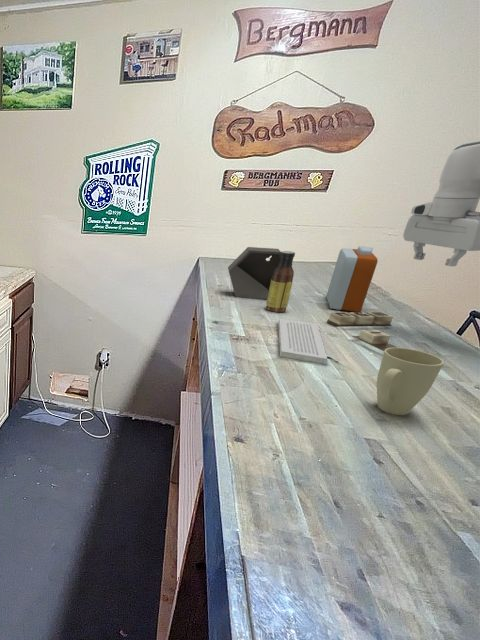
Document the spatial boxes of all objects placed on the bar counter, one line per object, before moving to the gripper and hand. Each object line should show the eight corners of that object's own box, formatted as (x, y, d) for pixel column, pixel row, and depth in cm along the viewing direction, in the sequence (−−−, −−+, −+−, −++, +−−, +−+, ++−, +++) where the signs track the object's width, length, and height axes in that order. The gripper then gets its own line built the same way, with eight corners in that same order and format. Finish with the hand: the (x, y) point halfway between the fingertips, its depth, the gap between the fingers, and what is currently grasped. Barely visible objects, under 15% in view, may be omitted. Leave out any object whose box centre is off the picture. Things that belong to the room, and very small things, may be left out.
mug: (354, 395, 100) (372, 344, 95) (410, 403, 96) (432, 351, 92) (369, 418, 91) (390, 363, 86) (432, 429, 87) (458, 372, 82)
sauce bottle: (281, 308, 159) (296, 250, 151) (288, 313, 153) (304, 253, 145) (261, 307, 160) (275, 249, 152) (267, 312, 154) (282, 253, 146)
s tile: (346, 319, 145) (348, 311, 144) (360, 319, 145) (362, 311, 144) (357, 324, 140) (360, 316, 139) (371, 324, 141) (374, 316, 140)
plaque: (279, 318, 143) (317, 323, 139) (278, 323, 144) (315, 328, 140) (281, 351, 119) (327, 358, 115) (280, 356, 119) (325, 364, 115)
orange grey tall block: (360, 313, 153) (381, 252, 145) (329, 309, 157) (348, 249, 149) (353, 300, 168) (372, 243, 160) (325, 297, 172) (342, 241, 164)
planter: (217, 282, 173) (262, 237, 162) (217, 278, 179) (259, 234, 168) (253, 310, 171) (301, 267, 160) (251, 305, 178) (297, 263, 167)
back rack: (375, 321, 146) (379, 310, 145) (391, 327, 141) (395, 316, 139) (325, 322, 145) (329, 311, 144) (339, 328, 140) (343, 317, 138)
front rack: (370, 338, 132) (374, 327, 130) (420, 361, 117) (425, 348, 116) (350, 339, 131) (354, 327, 130) (397, 361, 117) (402, 348, 115)
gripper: (506, 212, 110) (483, 269, 115) (428, 206, 129) (412, 255, 134) (481, 213, 110) (460, 270, 115) (407, 206, 129) (391, 256, 134)
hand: (433, 262), depth 125 cm, fingers open, 8 cm apart
